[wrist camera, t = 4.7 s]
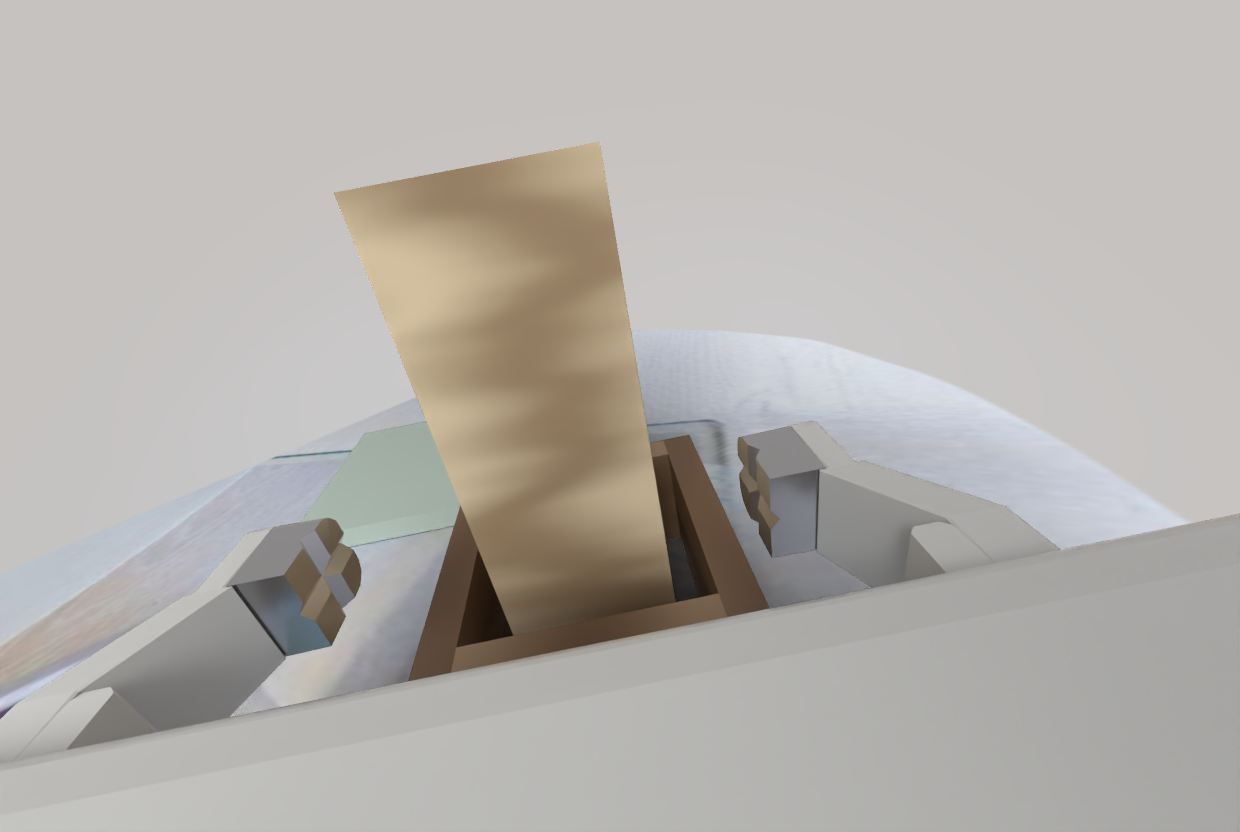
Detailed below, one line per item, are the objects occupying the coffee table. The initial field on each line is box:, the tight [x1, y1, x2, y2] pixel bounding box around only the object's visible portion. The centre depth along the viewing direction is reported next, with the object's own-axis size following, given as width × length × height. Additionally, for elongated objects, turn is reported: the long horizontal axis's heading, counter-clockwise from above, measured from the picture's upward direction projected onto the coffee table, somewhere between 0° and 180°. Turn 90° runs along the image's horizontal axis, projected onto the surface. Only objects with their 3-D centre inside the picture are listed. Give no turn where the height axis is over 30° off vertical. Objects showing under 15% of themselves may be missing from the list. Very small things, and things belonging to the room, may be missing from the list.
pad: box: [301, 421, 460, 547], centre depth 27 cm, size 10×10×1 cm
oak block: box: [334, 142, 676, 636], centre depth 13 cm, size 4×4×14 cm
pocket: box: [408, 435, 769, 681], centre depth 16 cm, size 8×8×4 cm
